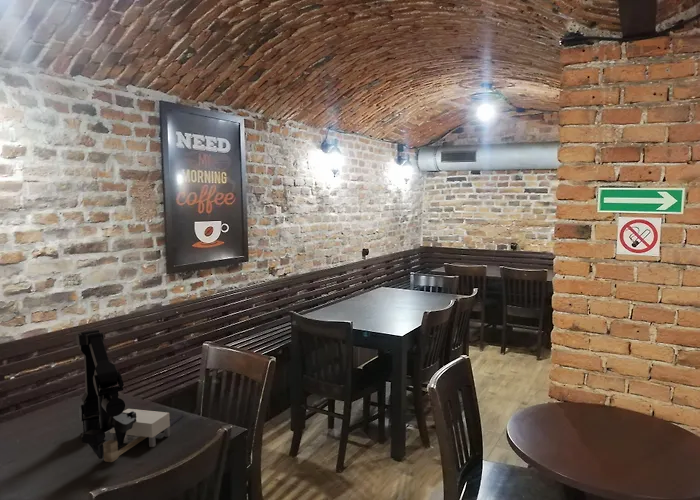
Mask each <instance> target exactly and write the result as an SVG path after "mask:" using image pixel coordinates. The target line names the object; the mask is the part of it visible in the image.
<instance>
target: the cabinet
mask: <svg viewBox="0 0 700 500" xmlns="http://www.w3.org/2000/svg"><path fill="white" fill-rule="evenodd" d="M131 411H134V412H136V420H137V421H136V422H135V423H133V426H132V429H129V430H128V431H127V432H126V435H134V436H143V437H147V438H148V445H149V448H155V447H156V445H157V443H156V442H157V441H156V436H157V435H158V434H160V433H162V432H163V430H164V432H163V435H164V437H165V438H168V437H170V436H171V427H170V419H171V417H170V412H167V411H165V412H164V411H157V410H156V411H154V410H143V409H136V408H135V409H134V408H127V409H124V411H123V412H124V413H130V412H131ZM109 440H115V441H117V437H116V433H115V429H114V428H113V429H112V430H110V431H109Z"/></svg>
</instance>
